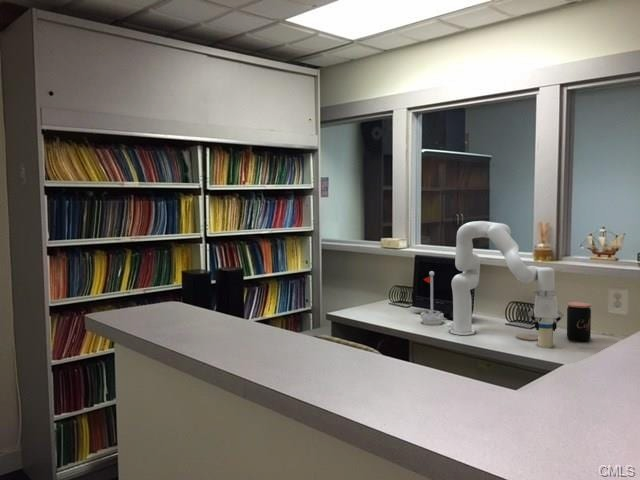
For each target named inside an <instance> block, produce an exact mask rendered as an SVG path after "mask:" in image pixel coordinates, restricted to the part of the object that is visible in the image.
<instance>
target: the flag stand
mask: <svg viewBox="0 0 640 480" xmlns="http://www.w3.org/2000/svg"><path fill="white" fill-rule="evenodd" d="M428 275H429V276H427V277H425V278H423V281H424V282H426V283H428V284H429V285H430V291H429V292H430V310H429V311H428V312H426V311H422V312H420V319H421V321H422V322H421V323H422V324H424V325H428V326H429V325H431V326H437V325H441V324H443V319H444V318H445V317H444V315H445V314H444V313H443V312H441V311H436V312H435V313H434V276H435V271H433V270H431V271H429V273H428Z"/></svg>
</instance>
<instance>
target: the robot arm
mask: <svg viewBox="0 0 640 480" xmlns="http://www.w3.org/2000/svg"><path fill="white" fill-rule="evenodd" d="M511 235H512V230H511V228H510V227H509V225H507V224H506V223H503V222H502V223H501V222H493V221H487V220H478V221H476V220H475V221H469V222H466V223H464V224H462V225H460V227H459V228H458V230H457V232H456V243H455V244H456V245H455V259H454V266H455V268H456V269H457V270H458V271H459V272H461V273H457V274H456V275H454V277H452V280H451V285H450V286H451V290H452V307H453V308H452V323H451V322H447V323H446V328H450V331H449V332H450V333H451V334H453V335H459V336H471V335H474V334H475V333H476V331H475V329H474V328H473V326H472V325H473V308H472V307H473V303H472V302H473V301H472V299H473V298H472V294H471V290H474V289H475V288H477V287H478V285H479V283H480V273H481V260H480V259H481V258H480V257H479V255H478V254H477V253H476V252H474V251H473V250H474V244H473V239H478V238H479V239H480V238H486V239H487V238H488V239H489V240H490V241H491V242H492V243H493V244H494V246H495V247H496V248H497V249H498V251H499V252H500V253H501V254H502V256H503V257H504V261H505V264H506V265H507V268H508V269H509V271H510V272H511V273H512V274H513V276H514V277H515V278H516V279H517V280H518V281H519V282H521V283H523V284H529V283H532V282H537V285H536V286H537V287H536V288H537V289H535V290H533V294H536V295H535V299H534V307H533V308H532V309H531V310H529V311H528V312H527V315H528V317H530V318H531V320H532V321H534V329H535V330H536V331H538V322H539V319H540V318H544V319H552V320H553V322H552V323H553V332H556V330H557V328H558V327H557V325H558V323H559V321H561V320H562V318H564V317H565V314H564V313H563V312H561V310H559V309H558V300H557V296H556V295H555V280H556V279H555V278H556V277H555V275H556V274H555V273H556V272H555V269H554V268H553V267H548V266H537V265H526V264H525V262H524V261H523V260H522V258H521V257H520V252H519V251H520V250H519V249H520V246H519V244H518V243H517V242H516V241H515V240H514V239H513V238H512V236H511ZM533 314H534V315H533ZM558 315H559V316H558Z"/></svg>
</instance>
